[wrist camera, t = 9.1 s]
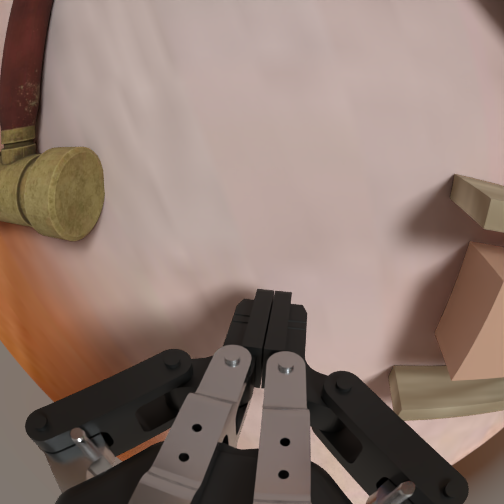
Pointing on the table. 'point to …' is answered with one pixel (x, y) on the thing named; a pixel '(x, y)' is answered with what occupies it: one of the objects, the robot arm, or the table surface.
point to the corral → (437, 377)
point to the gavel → (24, 150)
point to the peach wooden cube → (475, 317)
